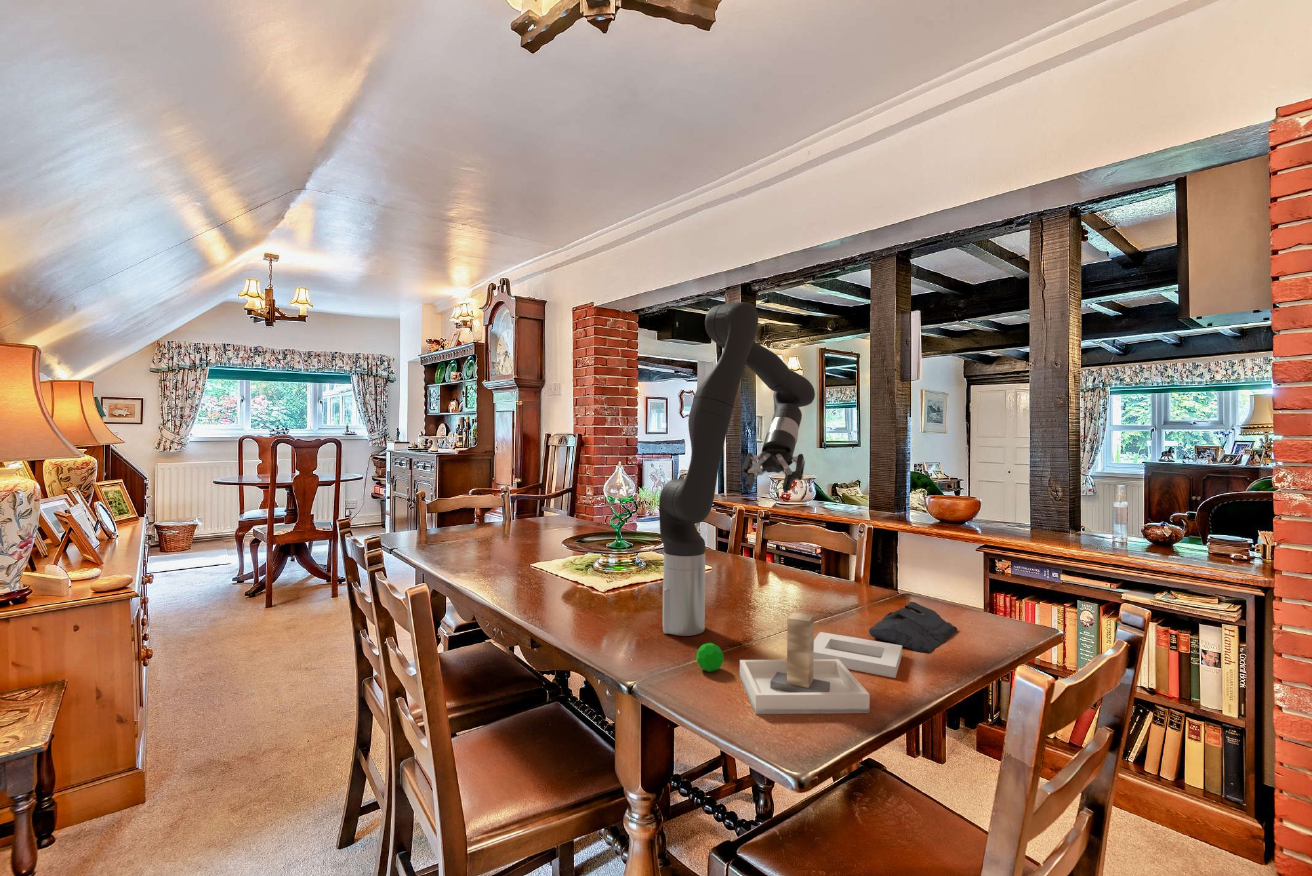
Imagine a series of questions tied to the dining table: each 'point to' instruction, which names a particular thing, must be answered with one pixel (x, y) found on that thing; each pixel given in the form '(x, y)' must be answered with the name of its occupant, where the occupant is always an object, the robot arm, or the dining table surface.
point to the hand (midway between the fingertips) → (766, 489)
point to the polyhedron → (709, 657)
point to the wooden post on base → (799, 658)
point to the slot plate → (859, 653)
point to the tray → (839, 699)
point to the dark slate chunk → (914, 628)
